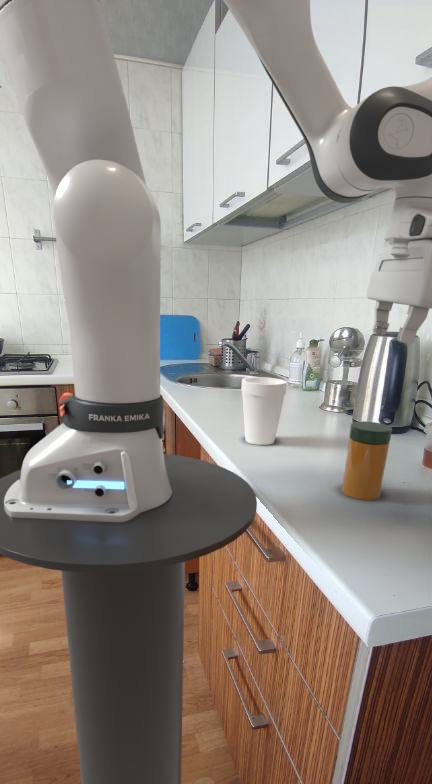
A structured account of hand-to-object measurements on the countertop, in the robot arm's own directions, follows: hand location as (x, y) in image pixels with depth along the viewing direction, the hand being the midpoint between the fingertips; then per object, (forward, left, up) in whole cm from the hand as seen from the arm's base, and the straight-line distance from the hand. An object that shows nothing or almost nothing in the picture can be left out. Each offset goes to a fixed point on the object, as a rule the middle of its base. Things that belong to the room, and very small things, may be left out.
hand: (390, 338), depth 67 cm
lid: (-1, 0, -14) cm, 14 cm away
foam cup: (-10, +30, -24) cm, 40 cm away
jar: (-1, 0, -24) cm, 24 cm away
